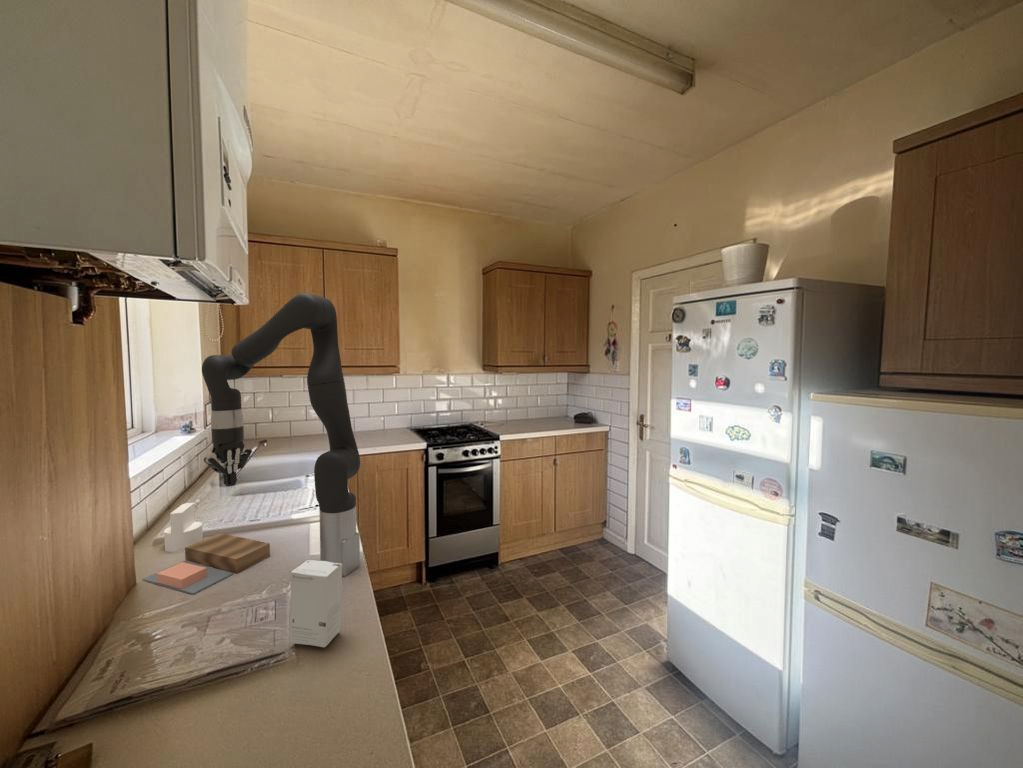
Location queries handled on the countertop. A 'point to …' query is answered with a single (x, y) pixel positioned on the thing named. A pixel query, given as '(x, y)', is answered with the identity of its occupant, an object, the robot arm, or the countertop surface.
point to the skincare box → (315, 603)
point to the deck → (227, 552)
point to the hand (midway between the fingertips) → (230, 485)
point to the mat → (211, 579)
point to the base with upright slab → (182, 529)
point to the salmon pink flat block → (181, 575)
